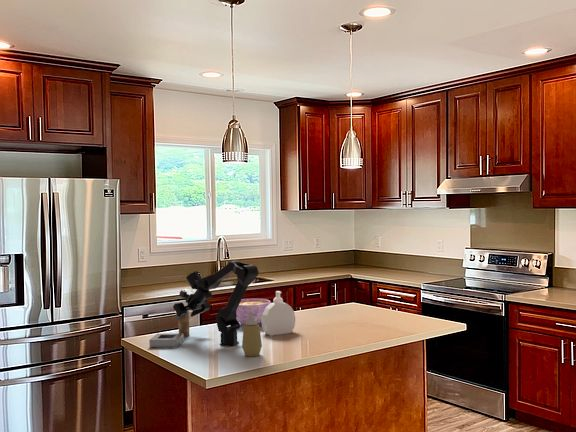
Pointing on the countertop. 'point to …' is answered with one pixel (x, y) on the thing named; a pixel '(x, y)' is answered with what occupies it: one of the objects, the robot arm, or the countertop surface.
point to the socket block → (166, 340)
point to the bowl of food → (251, 309)
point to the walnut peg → (184, 324)
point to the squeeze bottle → (251, 337)
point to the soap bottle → (278, 317)
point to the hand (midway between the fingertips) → (183, 317)
